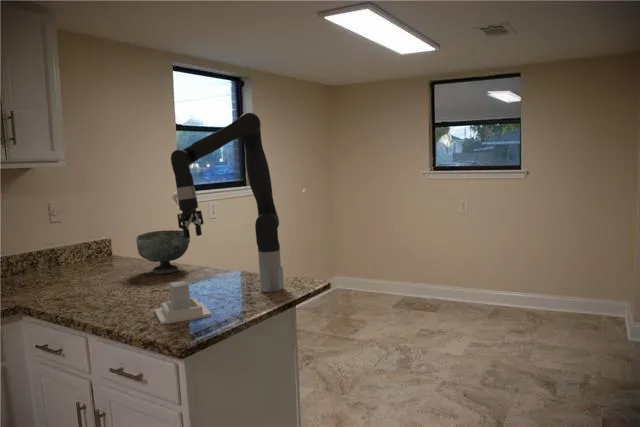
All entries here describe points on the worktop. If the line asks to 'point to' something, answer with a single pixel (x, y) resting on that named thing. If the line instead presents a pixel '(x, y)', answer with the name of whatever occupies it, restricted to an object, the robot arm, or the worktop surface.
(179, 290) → the small box
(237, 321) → the worktop surface
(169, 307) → the off-white tray
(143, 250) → the decorative bowl
